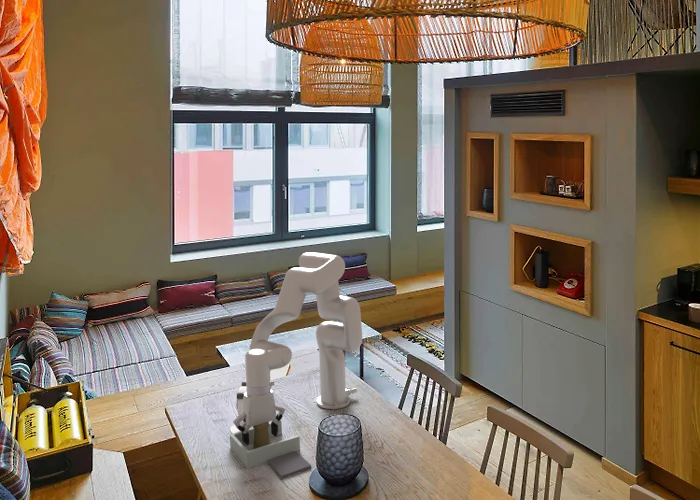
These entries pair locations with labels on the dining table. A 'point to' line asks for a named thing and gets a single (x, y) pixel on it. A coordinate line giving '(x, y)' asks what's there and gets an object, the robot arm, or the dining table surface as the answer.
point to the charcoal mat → (288, 464)
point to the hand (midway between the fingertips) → (260, 439)
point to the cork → (261, 435)
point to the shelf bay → (263, 452)
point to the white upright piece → (239, 406)
